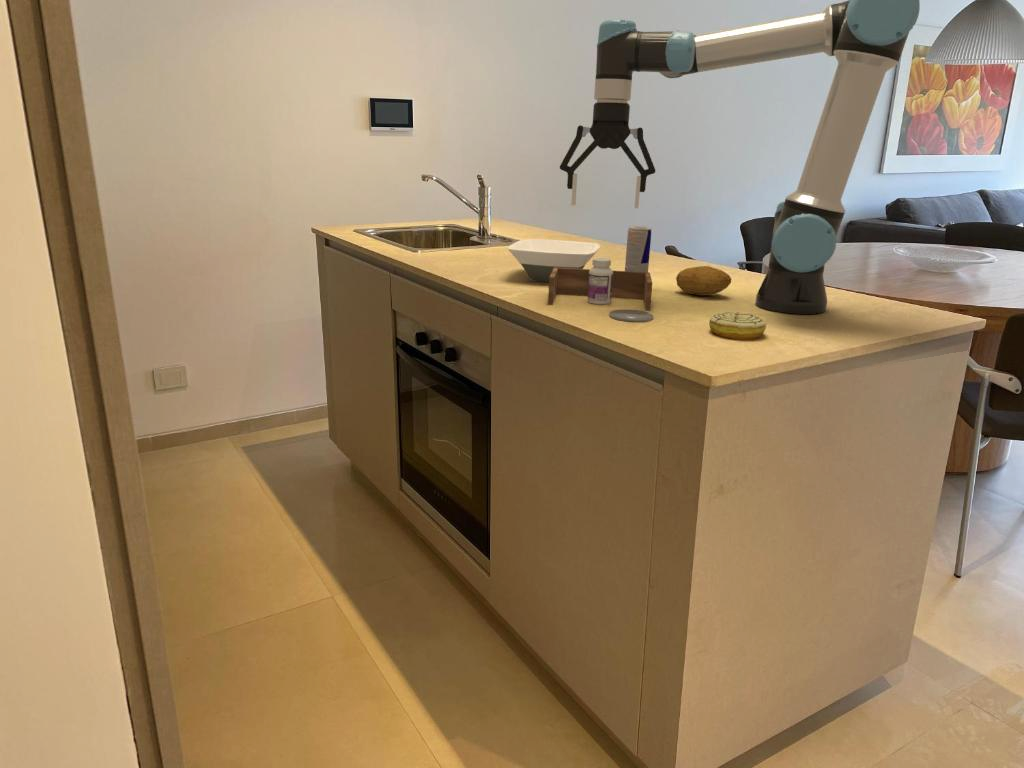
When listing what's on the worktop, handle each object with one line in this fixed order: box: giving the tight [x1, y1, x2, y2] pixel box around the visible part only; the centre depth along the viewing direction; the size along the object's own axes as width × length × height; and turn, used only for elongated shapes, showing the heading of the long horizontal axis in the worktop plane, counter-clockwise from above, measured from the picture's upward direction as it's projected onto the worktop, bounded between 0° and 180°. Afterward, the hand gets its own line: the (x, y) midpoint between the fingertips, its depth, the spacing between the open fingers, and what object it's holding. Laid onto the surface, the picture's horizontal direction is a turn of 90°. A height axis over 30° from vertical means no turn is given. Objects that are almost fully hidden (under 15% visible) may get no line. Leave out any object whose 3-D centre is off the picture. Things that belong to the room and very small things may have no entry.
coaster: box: [609, 308, 654, 323], centre depth 159 cm, size 9×9×1 cm
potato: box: [675, 265, 732, 296], centre depth 183 cm, size 9×13×7 cm
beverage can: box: [624, 225, 652, 272], centre depth 186 cm, size 6×6×15 cm
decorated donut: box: [708, 311, 768, 340], centre depth 148 cm, size 10×11×4 cm
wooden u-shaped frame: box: [547, 267, 653, 312], centre depth 172 cm, size 14×22×6 cm, turn 83°
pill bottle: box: [587, 257, 614, 305], centre depth 171 cm, size 5×5×10 cm
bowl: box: [507, 238, 602, 283], centre depth 197 cm, size 22×23×8 cm
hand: (604, 206), depth 167 cm, fingers open, 13 cm apart
